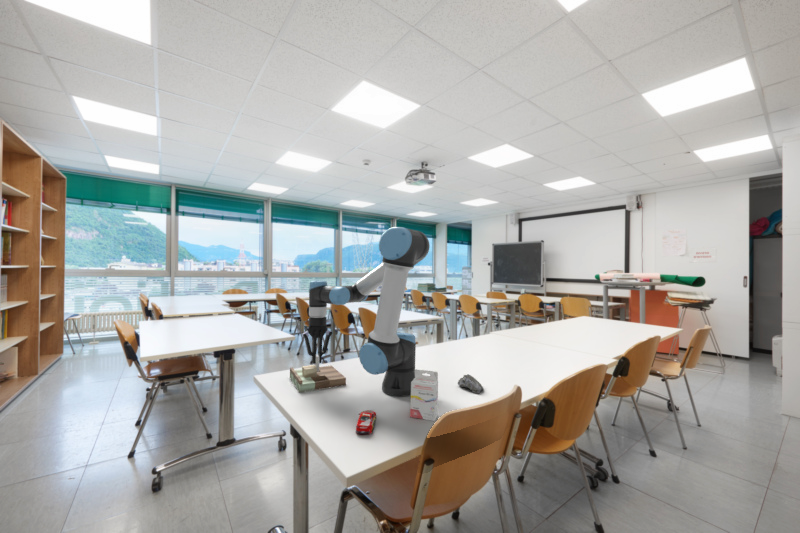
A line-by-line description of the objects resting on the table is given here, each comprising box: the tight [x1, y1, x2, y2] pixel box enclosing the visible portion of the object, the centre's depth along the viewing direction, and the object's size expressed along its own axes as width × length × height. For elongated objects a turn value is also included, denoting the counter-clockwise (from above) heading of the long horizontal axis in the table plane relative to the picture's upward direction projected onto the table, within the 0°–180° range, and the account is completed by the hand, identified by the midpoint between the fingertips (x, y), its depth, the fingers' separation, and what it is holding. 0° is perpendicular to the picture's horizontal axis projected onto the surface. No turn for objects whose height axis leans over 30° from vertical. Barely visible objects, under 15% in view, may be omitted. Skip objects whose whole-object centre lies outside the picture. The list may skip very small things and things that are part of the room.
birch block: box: [301, 364, 317, 378], centre depth 140 cm, size 5×5×4 cm
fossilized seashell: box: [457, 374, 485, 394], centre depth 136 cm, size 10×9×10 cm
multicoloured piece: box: [289, 365, 347, 393], centre depth 142 cm, size 20×19×4 cm
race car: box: [355, 410, 377, 435], centre depth 102 cm, size 13×5×4 cm, turn 176°
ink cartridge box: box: [409, 368, 439, 422], centre depth 109 cm, size 9×5×15 cm, turn 73°
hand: (316, 370), depth 142 cm, fingers closed
